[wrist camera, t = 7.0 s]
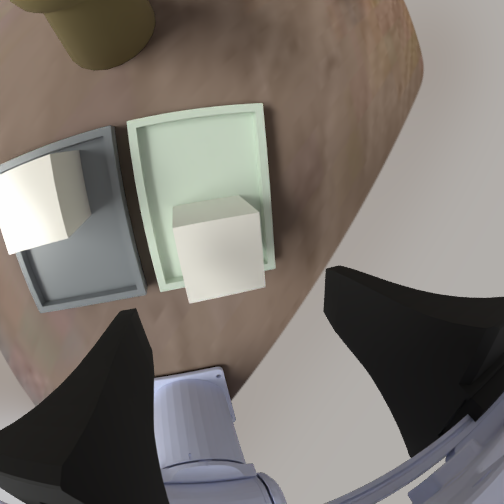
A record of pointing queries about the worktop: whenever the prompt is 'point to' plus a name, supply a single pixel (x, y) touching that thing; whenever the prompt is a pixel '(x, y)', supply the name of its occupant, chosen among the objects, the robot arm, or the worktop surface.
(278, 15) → the worktop surface
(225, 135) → the tray
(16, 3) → the cork
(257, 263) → the stone block
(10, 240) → the stone block
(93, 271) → the tray
